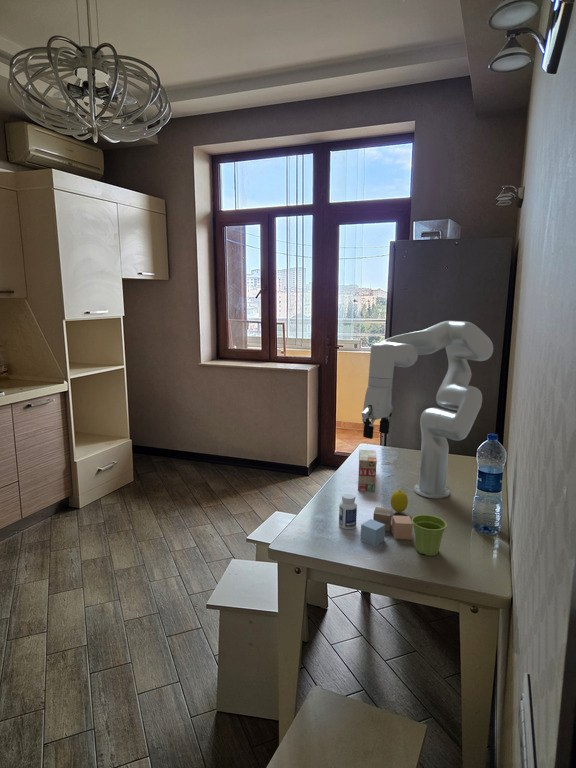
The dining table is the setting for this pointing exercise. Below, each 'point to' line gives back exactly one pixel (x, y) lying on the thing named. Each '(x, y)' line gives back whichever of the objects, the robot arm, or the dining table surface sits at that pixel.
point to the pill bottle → (347, 512)
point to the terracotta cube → (402, 527)
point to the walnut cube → (383, 516)
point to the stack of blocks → (367, 470)
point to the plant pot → (428, 533)
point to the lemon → (399, 501)
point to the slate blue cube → (372, 532)
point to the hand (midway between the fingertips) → (376, 435)
